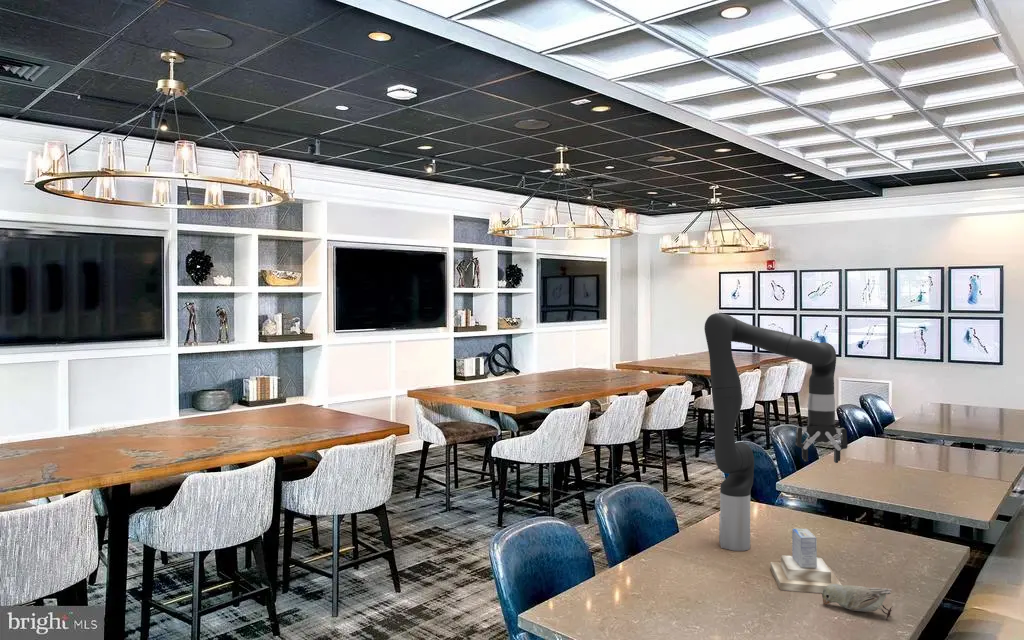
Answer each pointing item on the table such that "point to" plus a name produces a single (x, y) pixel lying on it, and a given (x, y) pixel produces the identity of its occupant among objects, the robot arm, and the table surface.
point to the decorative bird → (856, 597)
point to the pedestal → (802, 575)
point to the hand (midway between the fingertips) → (821, 461)
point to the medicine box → (804, 548)
